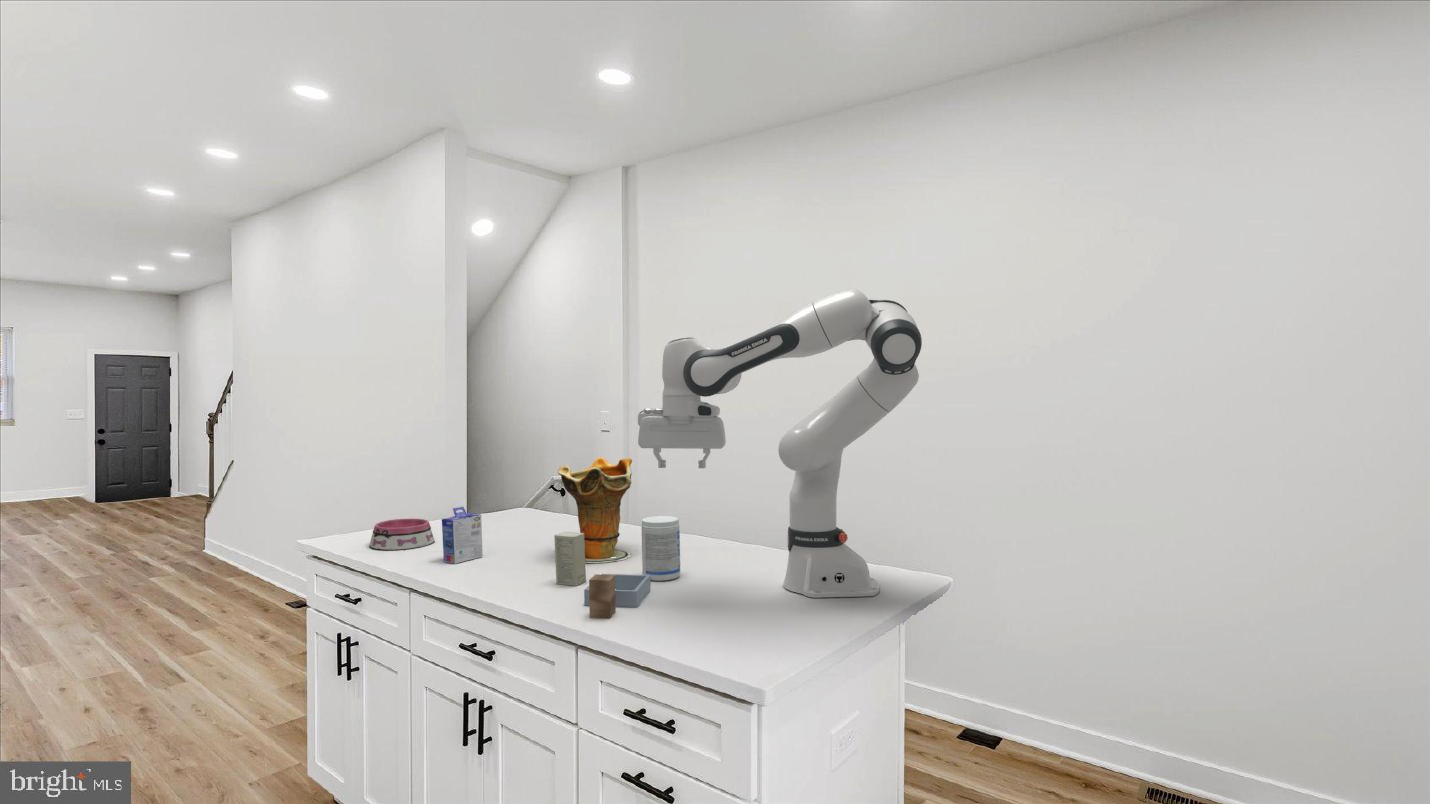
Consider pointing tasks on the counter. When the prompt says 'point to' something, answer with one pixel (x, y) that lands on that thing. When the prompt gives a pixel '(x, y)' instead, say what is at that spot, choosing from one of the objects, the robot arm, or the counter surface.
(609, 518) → the decorative vase
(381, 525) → the dog bowl
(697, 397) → the robot arm
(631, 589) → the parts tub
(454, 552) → the ink cartridge box
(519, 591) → the counter surface
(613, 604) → the walnut block
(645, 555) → the supplement tub
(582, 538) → the skincare box
